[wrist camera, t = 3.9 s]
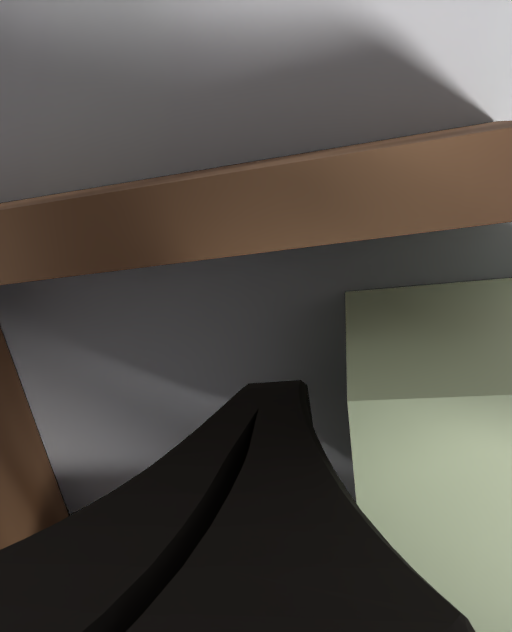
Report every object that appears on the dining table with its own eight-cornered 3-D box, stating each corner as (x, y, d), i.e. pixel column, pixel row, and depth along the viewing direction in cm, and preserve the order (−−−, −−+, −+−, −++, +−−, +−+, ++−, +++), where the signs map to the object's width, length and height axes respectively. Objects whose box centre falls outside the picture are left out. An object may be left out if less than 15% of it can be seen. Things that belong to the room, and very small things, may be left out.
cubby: (496, 121, 9) (565, 118, 6) (495, 561, 12) (539, 688, 9) (-85, 217, 11) (-222, 245, 9) (48, 556, 15) (-19, 653, 12)
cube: (580, 271, 9) (765, 384, 5) (563, 463, 11) (698, 668, 7) (345, 292, 10) (347, 401, 6) (359, 466, 12) (369, 648, 8)
